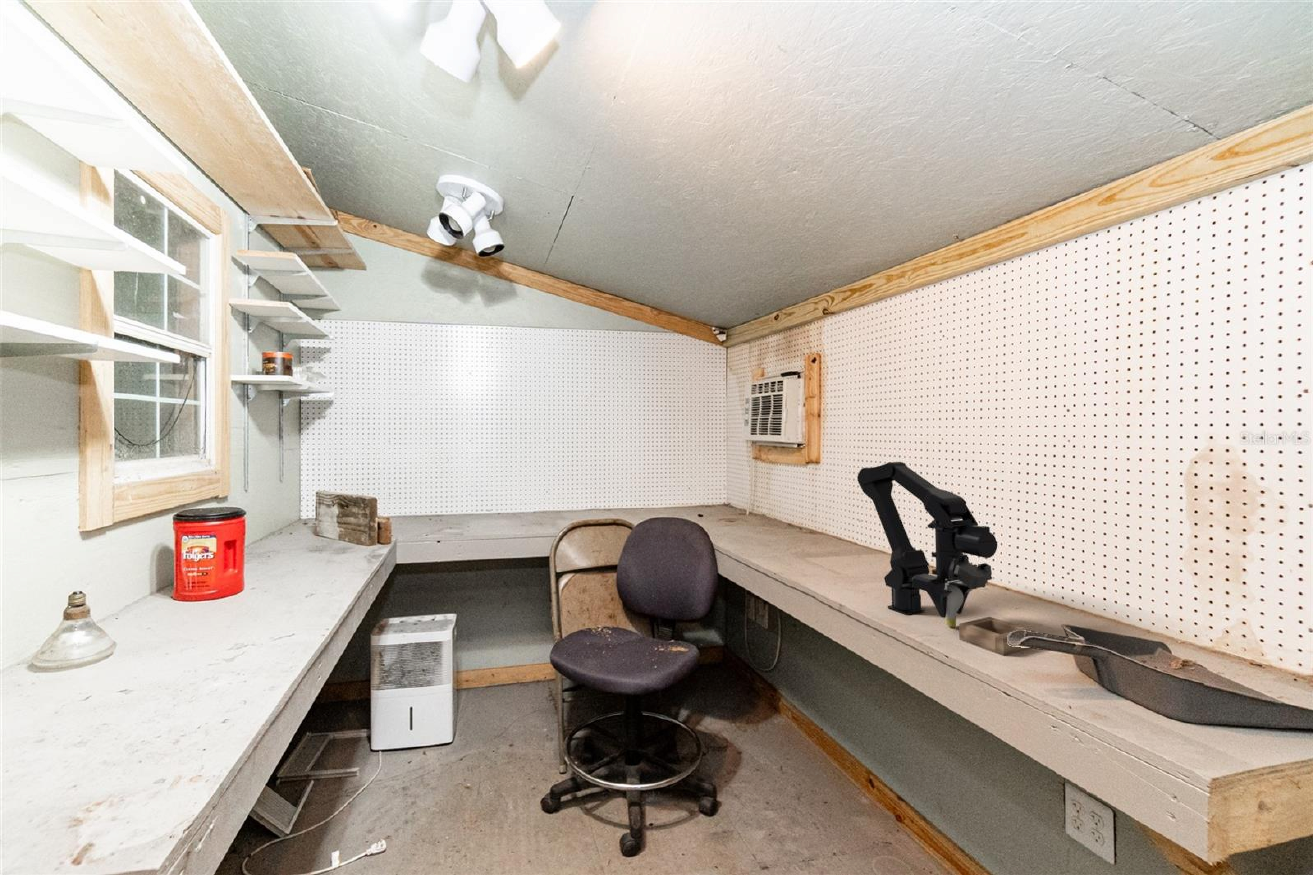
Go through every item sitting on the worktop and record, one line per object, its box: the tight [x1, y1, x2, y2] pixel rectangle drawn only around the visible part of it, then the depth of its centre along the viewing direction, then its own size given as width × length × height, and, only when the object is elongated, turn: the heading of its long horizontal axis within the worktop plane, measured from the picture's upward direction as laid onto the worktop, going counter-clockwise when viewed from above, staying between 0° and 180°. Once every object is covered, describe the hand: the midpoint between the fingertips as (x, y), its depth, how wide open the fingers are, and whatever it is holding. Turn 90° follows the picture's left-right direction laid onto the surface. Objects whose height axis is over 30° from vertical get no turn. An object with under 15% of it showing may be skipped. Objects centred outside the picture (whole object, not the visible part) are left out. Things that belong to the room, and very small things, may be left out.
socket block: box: [958, 616, 1035, 657], centre depth 119 cm, size 10×10×4 cm
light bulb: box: [945, 584, 964, 628], centre depth 129 cm, size 6×6×10 cm
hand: (950, 615), depth 129 cm, fingers closed on light bulb, 5 cm apart
